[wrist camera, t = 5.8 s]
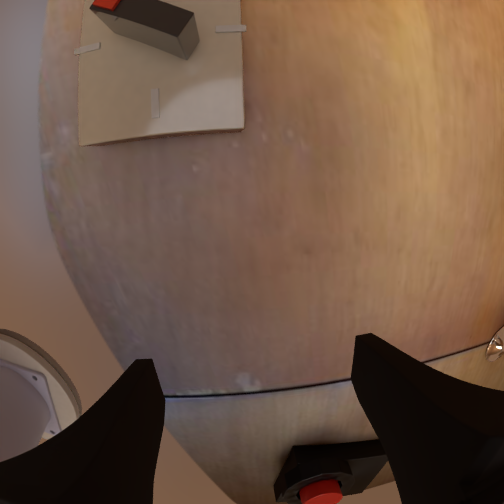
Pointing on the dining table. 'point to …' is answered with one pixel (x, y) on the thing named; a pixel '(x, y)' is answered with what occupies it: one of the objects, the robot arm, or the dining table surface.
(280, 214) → the dining table surface
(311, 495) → the cylinder
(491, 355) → the wineglass
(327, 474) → the box
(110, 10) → the black block red patch
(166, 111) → the panel
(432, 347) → the dining table surface
